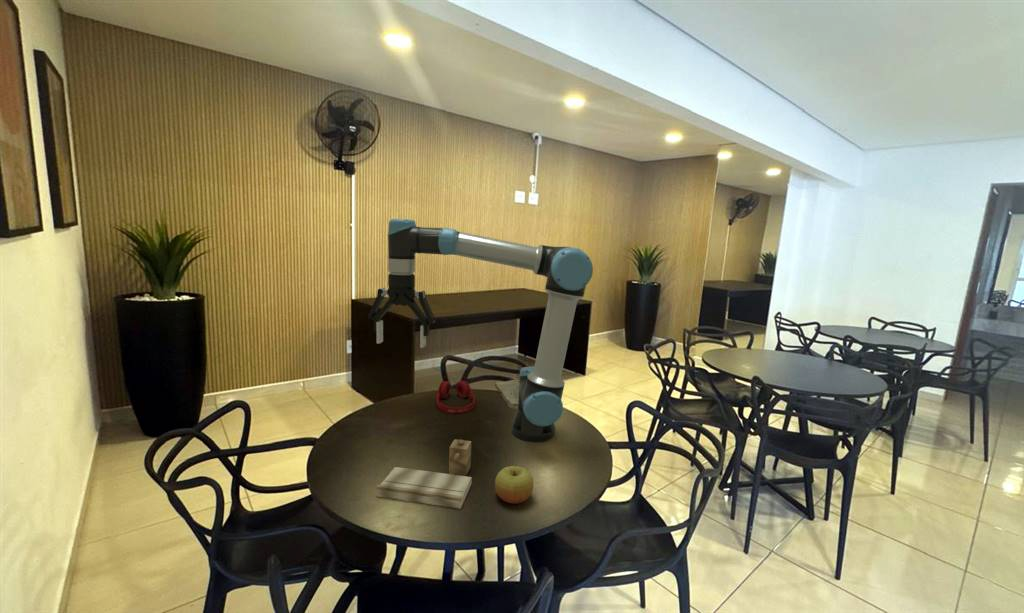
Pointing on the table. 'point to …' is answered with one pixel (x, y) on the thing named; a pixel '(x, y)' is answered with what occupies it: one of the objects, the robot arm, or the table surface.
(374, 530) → the table surface
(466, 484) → the board
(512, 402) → the stone slab
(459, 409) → the headphones
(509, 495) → the apple
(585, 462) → the table surface
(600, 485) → the table surface
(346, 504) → the table surface
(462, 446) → the beige wooden block
